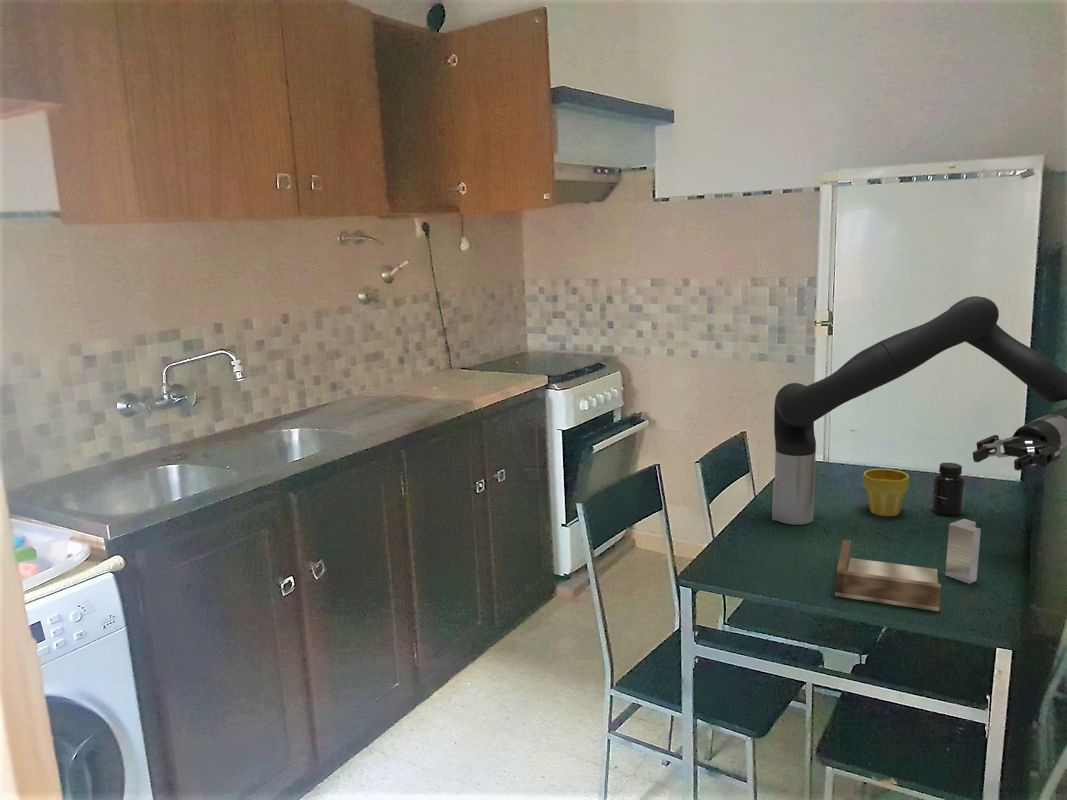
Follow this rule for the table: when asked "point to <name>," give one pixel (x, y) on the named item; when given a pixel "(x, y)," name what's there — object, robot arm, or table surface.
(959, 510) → the supplement bottle
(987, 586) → the table surface
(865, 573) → the wooden tray
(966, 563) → the bracket
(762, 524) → the table surface
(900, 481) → the plant pot
